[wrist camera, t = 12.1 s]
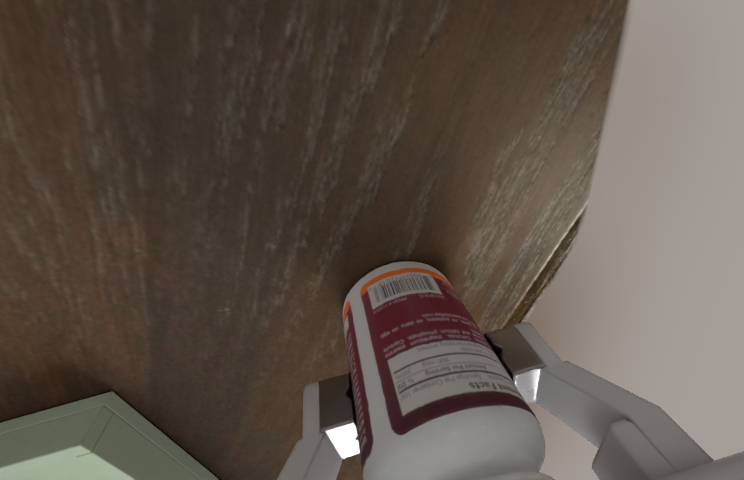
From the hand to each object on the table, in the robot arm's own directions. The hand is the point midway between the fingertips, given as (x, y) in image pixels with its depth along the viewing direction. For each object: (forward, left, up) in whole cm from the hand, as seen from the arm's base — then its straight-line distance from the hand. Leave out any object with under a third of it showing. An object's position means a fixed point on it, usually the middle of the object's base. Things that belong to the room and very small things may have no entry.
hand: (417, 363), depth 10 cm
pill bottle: (0, 0, -3) cm, 3 cm away
